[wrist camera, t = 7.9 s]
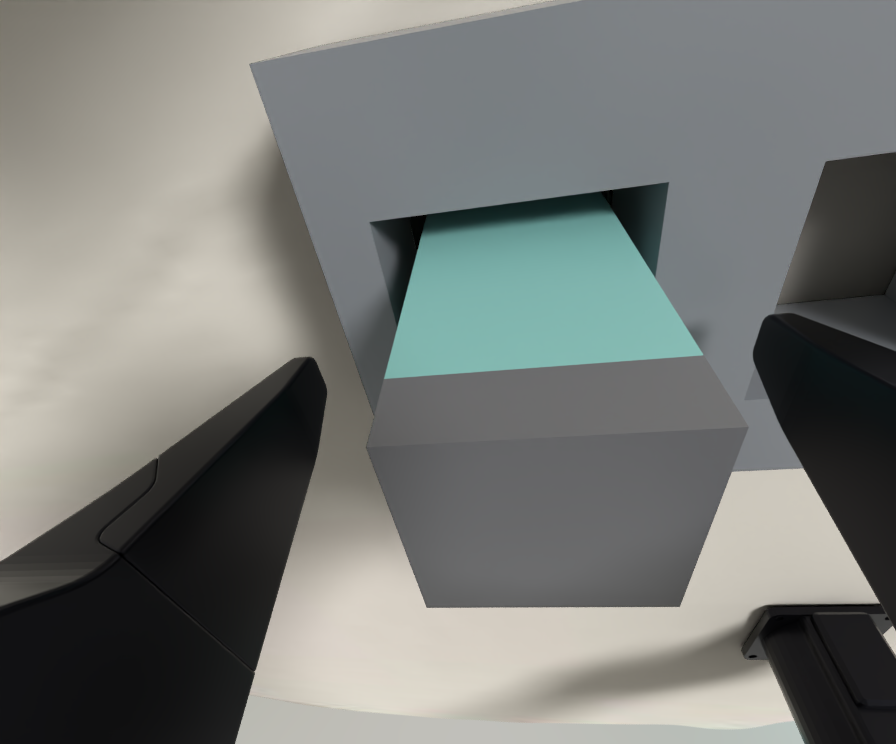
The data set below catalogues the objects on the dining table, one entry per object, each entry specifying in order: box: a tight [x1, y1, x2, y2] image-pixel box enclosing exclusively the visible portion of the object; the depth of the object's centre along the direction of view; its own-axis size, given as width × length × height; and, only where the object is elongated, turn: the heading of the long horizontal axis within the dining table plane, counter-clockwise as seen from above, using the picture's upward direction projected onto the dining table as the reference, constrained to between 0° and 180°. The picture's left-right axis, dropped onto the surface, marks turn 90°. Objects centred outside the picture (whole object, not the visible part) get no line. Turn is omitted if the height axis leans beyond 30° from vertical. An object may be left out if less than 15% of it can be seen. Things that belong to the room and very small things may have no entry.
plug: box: [366, 191, 749, 608], centre depth 10 cm, size 4×4×9 cm
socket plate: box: [249, 0, 896, 472], centre depth 11 cm, size 11×16×4 cm
